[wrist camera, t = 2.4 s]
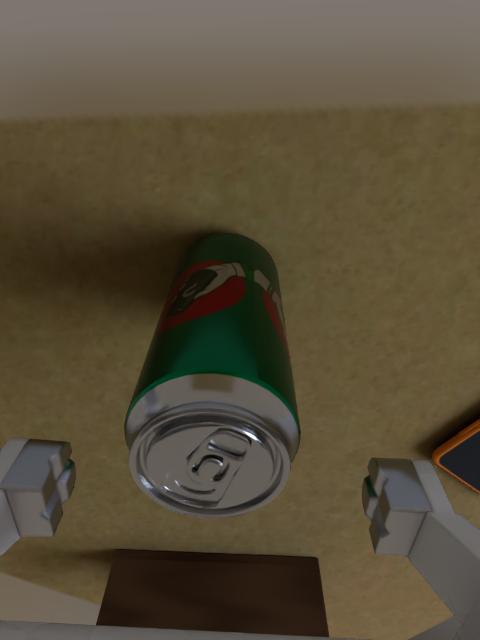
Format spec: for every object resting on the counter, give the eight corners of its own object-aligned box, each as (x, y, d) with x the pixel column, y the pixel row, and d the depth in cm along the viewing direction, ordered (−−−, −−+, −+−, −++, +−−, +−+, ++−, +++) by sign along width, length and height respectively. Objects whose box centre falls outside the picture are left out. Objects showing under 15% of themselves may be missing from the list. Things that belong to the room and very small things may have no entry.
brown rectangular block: (121, 583, 37) (93, 704, 30) (116, 549, 34) (83, 672, 27) (309, 591, 37) (324, 712, 30) (317, 557, 34) (335, 681, 27)
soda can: (160, 293, 22) (86, 491, 12) (205, 209, 20) (162, 364, 10) (245, 334, 23) (244, 546, 13) (297, 260, 21) (344, 445, 11)
